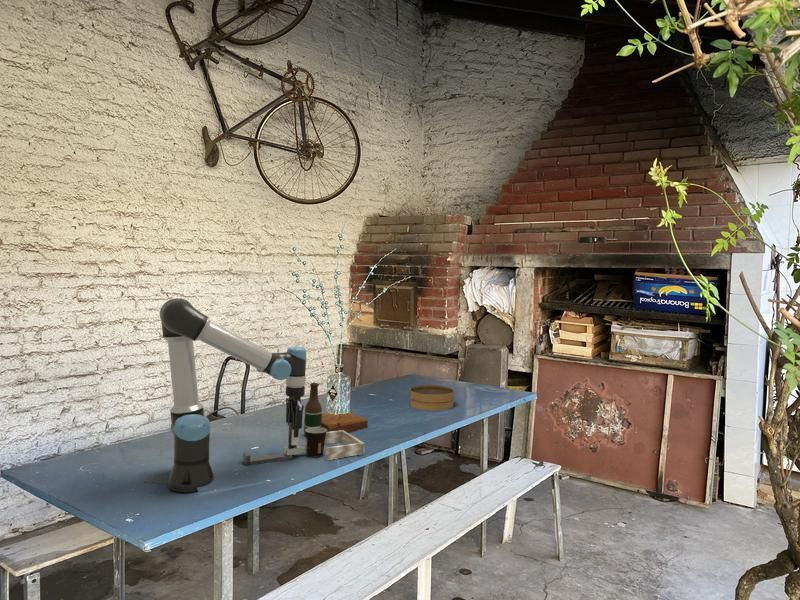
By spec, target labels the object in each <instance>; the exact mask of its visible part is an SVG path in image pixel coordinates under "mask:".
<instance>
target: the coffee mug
mask: <svg viewBox="0 0 800 600" xmlns="http://www.w3.org/2000/svg"><path fill="white" fill-rule="evenodd" d="M326 431H327V430H326V429H324V428H318V427H314V428H308V429H306V430H305V432H306V436H305V441H306V445H307V451H306V453H307V454H306V455H307V456H309V457H312V458H318V457H322V456H323V455H324V451H325V450H324V449H325V445H326V444H325V438H326ZM318 443H321V453H318ZM324 444H325V445H324Z"/></svg>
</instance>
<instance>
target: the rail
mask: <svg viewBox="0 0 800 600" xmlns="http://www.w3.org/2000/svg"><path fill="white" fill-rule="evenodd" d="M291 459H293V455H286V454H285V453H284V452H282V453H281V452H280V453H274V454H266V455H260V456H252V457H251V454H250V453H249V452H248V451H244V452H242V463H243V464H244V465H245V466H250V465H256V464H257V465H258V464H263V463H264V464H265V463H270V462H271V463H272V462H277V461H285V460H291Z"/></svg>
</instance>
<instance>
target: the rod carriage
mask: <svg viewBox="0 0 800 600" xmlns="http://www.w3.org/2000/svg"><path fill="white" fill-rule="evenodd" d="M288 426H289V439H288V438H287V440H288V442H287V446H283V452H282V453H285V454H286V455H292V456H293V455H300V454H302V452H307V444H306V445H301V446H300V445H299V444H298V445H291V440H292V429H291V428H293V422H289V425H288ZM318 453H321V443H318Z"/></svg>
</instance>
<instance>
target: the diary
mask: <svg viewBox="0 0 800 600" xmlns="http://www.w3.org/2000/svg"><path fill="white" fill-rule="evenodd" d="M347 412H348V411H347ZM330 413H331V412H328V413H322V421H321V428H324V429H326V430H327V431H326V432H331V431H339V430H344V431H345V432H347V433H349V434H350V433H353V431H354V432H356V431H357V430H358V431H359V430H364V429H368V424H369V423H368V421H369V420H368V418H366V417H363V416H361V415H357V414H354V413H351V412H348V413H346V414H338V415H335V414H330Z"/></svg>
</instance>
